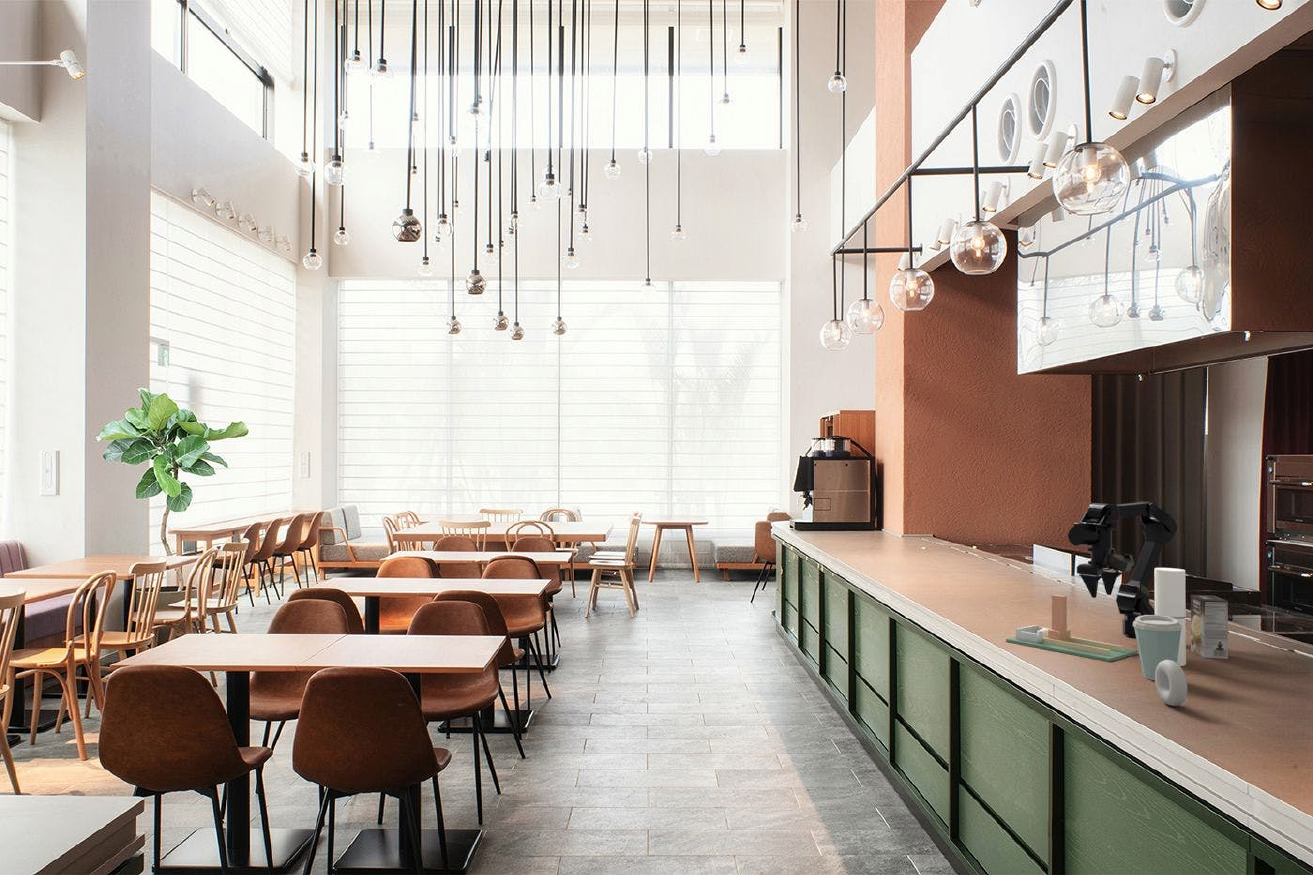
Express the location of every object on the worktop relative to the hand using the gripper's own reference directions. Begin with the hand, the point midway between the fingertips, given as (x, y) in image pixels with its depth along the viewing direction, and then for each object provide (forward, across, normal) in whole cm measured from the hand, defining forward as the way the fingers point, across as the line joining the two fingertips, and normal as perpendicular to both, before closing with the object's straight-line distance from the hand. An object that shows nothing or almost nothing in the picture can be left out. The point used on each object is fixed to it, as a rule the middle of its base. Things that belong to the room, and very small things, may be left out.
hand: (1101, 596), depth 257 cm
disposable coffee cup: (+13, -34, -30) cm, 48 cm away
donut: (+13, -57, -43) cm, 72 cm away
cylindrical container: (+13, -14, -25) cm, 32 cm away
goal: (+13, -19, +9) cm, 25 cm away
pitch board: (+13, -19, 0) cm, 23 cm away
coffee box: (+13, +5, -27) cm, 31 cm away
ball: (+10, -19, +7) cm, 23 cm away
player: (+12, -19, +3) cm, 23 cm away
